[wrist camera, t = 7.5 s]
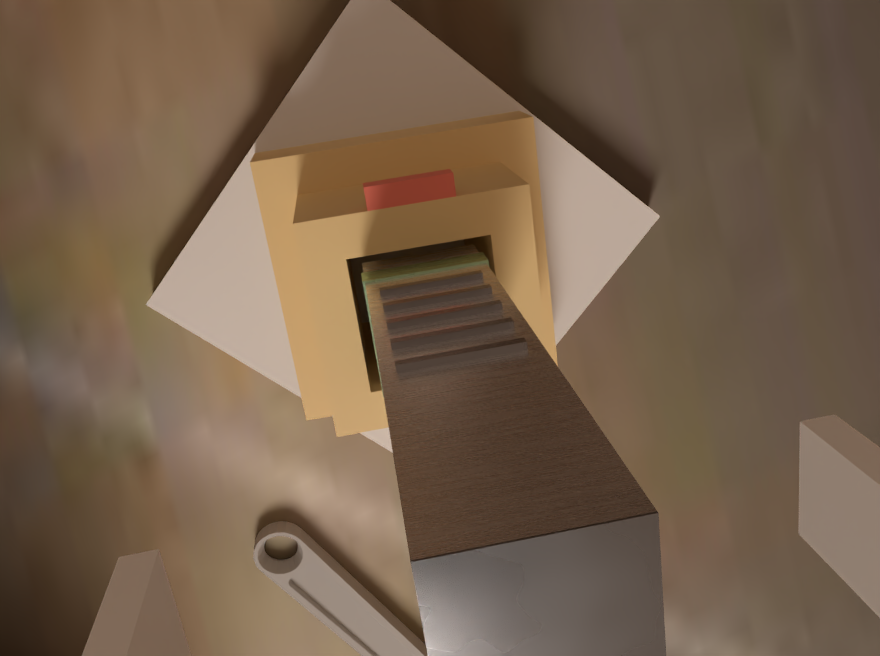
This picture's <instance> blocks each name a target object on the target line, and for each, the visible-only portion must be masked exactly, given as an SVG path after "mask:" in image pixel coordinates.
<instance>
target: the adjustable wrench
mask: <svg viewBox="0 0 880 656" xmlns="http://www.w3.org/2000/svg"><path fill="white" fill-rule="evenodd" d="M275 536H286V537H290V538H292V539H294V540H295V541H297V544H298V550H297V552H296V554H295V555H294V556H292V557H290V558H288V559H275V558H272V557H270V556H268V555H267V554H266V552H265V550H264V545H265V542H266V540H268V539H269V538H272V537H275ZM254 561H255V564H256V566H257V567H258V568H259V569H260V571H261V572H263V573H264V574H265V575H266V576H267V577H269V578H270V579H271V580H272V581H273V582H275V583H276V584H277V585H278V586H279V587H281V588H282V589H283V590H284V591H285V592H286V593H288V594H289V595H290V596H291V597H292V598H294V599H295V600H296V601H297V602H298V603H300V604H301V605H302V606H303V607H304V608H306V609H307V610H308V611H309V612H310V613H312V614H313V615H314V616H315V617H316V618H317V619H319V620H320V621H321V622H322V623H323V624H325V625H326V626H327V627H328V628H329V629H331V630H332V631H333V632H334V633H335V634H337V635H338V636H339V637H340V638H341V639H343V640H344V641H345V642H346V643H347V644H348V645H350V646H351V647H352V648H353V649H354V650H356V651H357V652H358V653H359V654H360V655H362V656H428V654H427V648H426V644H425V643H423V642H422V641H421V640H420V639H419V638H418V637H417V636H416V635H415V634H414V633H413V632H412V631H411V630H410V629H408V628H407V627H406V626H405V625H404V624H403V623H402V622H401V621H400V620H399V619H398V618H397V617H396V616H395V615H393V614H392V613H391V612H390V611H389V610H388V609H387V608H386V607H385V606H384V605H383V604H382V603H381V602H380V601H379V600H377V599H376V598H375V597H374V596H373V595H372V594H371V593H370V592H369V591H368V590H367V589H366V588H365V587H364V586H362V585H361V584H360V583H359V582H358V581H357V580H356V579H355V578H354V577H353V576H352V575H351V574H350V573H349V572H347V571H346V570H345V569H344V568H343V567H342V566H341V565H340V564H339V563H338V562H337V561H336V560H335V559H334V558H332V557H331V556H330V555H329V554H328V553H327V552H326V551H325V550H324V549H323V548H322V547H321V546H320V545H319V544H317V543H316V542H315V541H314V540H313V539H312V538H311V537H310V536H309V535H308V534H307V533H306V532H305V531H304V530H303V529H301V528H300V527H299V526H297V525H296V524H294V523H290V522H287V521H277V522H274V523H270V524H268V525H267V526H265V527H263V528H262V529H261V531H260V532H259V533H258V535H257V537H256V540H255V546H254Z"/></svg>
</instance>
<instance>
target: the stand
mask: <svg viewBox="0 0 880 656" xmlns="http://www.w3.org/2000/svg"><path fill="white" fill-rule="evenodd" d="M659 217H660V216H659V215H658V214H657V213H655V212H654V211H653V210H652V209H650V208H649V207H648V206H647V205H645V204H644V203H643V202H642V201H640V200H639V199H638V198H637V197H635V196H634V195H633V194H632V193H630V192H629V191H628V190H627V189H625V188H624V187H623V186H622V185H620V184H619V183H618V182H617V181H615V180H614V179H613V178H612V177H610V176H609V175H608V174H607V173H605V172H604V171H603V170H602V169H600V168H599V167H598V166H597V165H595V164H594V163H593V162H592V161H590V160H589V159H588V158H587V157H585V156H584V155H583V154H582V153H580V152H579V151H578V150H577V149H575V148H574V147H573V146H572V145H570V144H569V143H568V142H567V141H565V140H564V139H563V138H562V137H560V136H559V135H558V134H557V133H555V132H554V131H553V130H552V129H550V128H549V127H548V126H547V125H545V124H544V123H543V122H542V121H540V120H539V119H538V118H537V117H535V116H534V115H533V114H532V113H530V112H529V111H528V110H527V109H525V108H524V107H523V106H522V105H520V104H519V103H518V102H517V101H515V100H514V99H513V98H512V97H510V96H509V95H508V94H507V93H505V92H504V91H503V90H502V89H500V88H499V87H498V86H497V85H495V84H494V83H493V82H492V81H490V80H489V79H488V78H487V77H485V76H484V75H483V74H482V73H480V72H479V71H478V70H477V69H475V68H474V67H473V66H472V65H470V64H469V63H468V62H467V61H465V60H464V59H463V58H462V57H460V56H459V55H458V54H457V53H455V52H454V51H453V50H452V49H450V48H449V47H448V46H447V45H445V44H444V43H443V42H442V41H440V40H439V39H438V38H437V37H435V36H434V35H433V34H432V33H430V32H429V31H428V30H427V29H425V28H424V27H423V26H422V25H420V24H419V23H418V22H417V21H415V20H414V19H413V18H412V17H410V16H409V15H408V14H407V13H405V12H404V11H403V10H402V9H400V8H399V7H398V6H397V5H395V4H394V3H393V2H392V1H390V0H350V1H349V3H348V4H347V6H346V7H345V9H344V10H343V12H342V13H341V14H340V16H339V17H338V19H337V20H336V22H335V23H334V25H333V26H332V28H331V29H330V31H329V32H328V34H327V35H326V37H325V38H324V40H323V41H322V43H321V44H320V46H319V47H318V49H317V50H316V52H315V53H314V55H313V56H312V58H311V59H310V61H309V62H308V64H307V65H306V67H305V68H304V70H303V71H302V73H301V74H300V76H299V77H298V78H297V80H296V81H295V83H294V84H293V86H292V87H291V89H290V90H289V92H288V93H287V95H286V96H285V98H284V99H283V101H282V102H281V104H280V105H279V107H278V108H277V110H276V111H275V113H274V114H273V116H272V117H271V119H270V120H269V122H268V123H267V125H266V126H265V128H264V129H263V131H262V132H261V134H260V135H259V137H258V138H257V139H256V141H255V142H254V144H253V145H252V147H251V148H250V150H249V151H248V153H247V154H246V156H245V157H244V159H243V160H242V162H241V163H240V165H239V166H238V168H237V169H236V171H235V172H234V174H233V175H232V177H231V178H230V180H229V181H228V183H227V184H226V186H225V187H224V189H223V190H222V192H221V193H220V195H219V196H218V198H217V199H216V201H215V202H214V203H213V205H212V206H211V208H210V209H209V211H208V212H207V214H206V215H205V217H204V218H203V220H202V221H201V223H200V224H199V226H198V227H197V229H196V230H195V232H194V233H193V235H192V236H191V238H190V239H189V241H188V242H187V244H186V245H185V247H184V248H183V250H182V251H181V253H180V254H179V256H178V257H177V259H176V260H175V262H174V263H173V265H172V266H171V267H170V269H169V270H168V272H167V273H166V275H165V276H164V278H163V279H162V281H161V282H160V284H159V285H158V287H157V288H156V290H155V291H154V293H153V294H152V296H151V297H150V299H149V301H148V302H147V304H146V305H147V306H149V307H150V308H152V309H154V310H156V311H157V312H159V313H161V314H162V315H164V316H166V317H167V318H169V319H171V320H172V321H174V322H176V323H177V324H179V325H181V326H182V327H184V328H186V329H187V330H189V331H191V332H192V333H194V334H196V335H197V336H199V337H201V338H202V339H204V340H206V341H207V342H209V343H211V344H212V345H214V346H216V347H217V348H219V349H221V350H222V351H224V352H226V353H227V354H229V355H231V356H232V357H234V358H236V359H237V360H239V361H241V362H242V363H244V364H246V365H247V366H249V367H251V368H252V369H254V370H256V371H257V372H259V373H261V374H262V375H264V376H266V377H267V378H269V379H271V380H272V381H274V382H276V383H277V384H279V385H281V386H282V387H284V388H286V389H287V390H289V391H291V392H292V393H294V394H296V395H297V396H299V397H301V398H302V402H303V407H304V411H305V416H306V420H312V419H318V418H323V417H329V416H332V417H333V420H334V425H335V430H336V435H337V437H340V436H345V435H351V434H356V433H361V434H362V435H364V436H366V437H367V438H369V439H371V440H372V441H374V442H376V443H377V444H379V445H381V446H382V447H384V448H386V449H387V450H389V451H391V452H392V453H393V451H392V444H391V438H390V432H389V426H388V420H387V414H386V408H385V402H384V397H383V393H382V387H381V382H380V376H379V371H378V365H377V360H376V354H375V349H374V343H373V338H372V332H371V327H370V321H369V316H368V310H367V305H366V299H365V294H364V288H363V283H362V276H361V273H363V267H362V263H365V262H371V261H377V260H383V259H389V258H394V257H400V256H406V255H412V254H418V253H424V252H429V251H435V250H441V249H447V248H453V247H458V246H464V245H470V244H474V246H475V247H476V248H477V250H478V251H479V253H481V252H483V253H484V254H485V256H486V257H487V259H488V261H489V267H490V269H491V270H492V272H493V273H494V275H495V276H496V278H497V279H498V280H499V282H500V283H501V285H502V286H503V288H504V289H505V291H506V292H507V294H508V295H509V296H510V298H511V299H512V301H513V302H514V304H515V305H516V307H517V308H518V310H519V311H520V312H521V314H522V315H523V317H524V318H525V320H526V321H527V323H528V324H529V326H530V327H531V328H532V330H533V331H534V333H535V334H536V336H537V337H538V339H539V340H540V342H541V343H542V344H543V346H544V347H545V349H546V350H547V352H548V353H549V355H550V356H551V358H552V359H553V360H554V362H555V363H556V365H557V366H558V364H557V354H556V345H557V344H558V342H559V341H560V340H561V339H562V337H563V336H564V335H565V334H566V332H567V331H568V330H569V329H570V327H571V326H572V325H573V324H574V322H575V321H576V320H577V319H578V318H579V316H580V315H581V314H582V313H583V311H584V310H585V309H586V308H587V306H588V305H589V304H590V303H591V301H592V300H593V299H594V298H595V296H596V295H597V294H598V293H599V291H600V290H601V289H602V288H603V287H604V285H605V284H606V283H607V282H608V280H609V279H610V278H611V277H612V275H613V274H614V273H615V272H616V270H617V269H618V268H619V267H620V265H621V264H622V263H623V262H624V260H625V259H626V258H627V257H628V255H629V254H630V253H631V252H632V251H633V249H634V248H635V247H636V246H637V244H638V243H639V242H640V241H641V239H642V238H643V237H644V236H645V234H646V233H647V232H648V231H649V229H650V228H651V227H652V226H653V224H654V223H655V222H656V221H657V220H658V218H659Z"/></svg>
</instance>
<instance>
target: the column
mask: <svg viewBox="0 0 880 656" xmlns="http://www.w3.org/2000/svg"><path fill="white" fill-rule="evenodd" d="M362 267H363V273H361V276H362V283H363V288H364V294H365V299H366V305H367V310H368V316H369V321H370V327H371V332H372V338H373V343H374V349H375V354H376V360H377V365H378V371H379V376H380V382H381V387H382V393H383V397H384V402H385V408H386V414H387V420H388V426H389V432H390V438H391V444H392V451H393V457H394V463H395V469H396V475H397V481H398V487H399V493H400V500H401V506H402V512H403V518H404V524H405V530H406V536H407V542H408V548H409V555H410V561H411V566H412V572H413V577H414V583H415V588H416V594H417V599H418V605H419V610H420V616H421V621H422V626H423V632H424V637H425V643H426V648H427V654H428V656H666V645H665V626H664V608H663V590H662V572H661V553H660V535H659V517H658V512H657V510H656V509H655V507H654V506H653V505H652V503H651V502H650V500H649V499H648V497H647V496H646V494H645V493H644V491H643V490H642V489H641V487H640V486H639V484H638V483H637V481H636V480H635V478H634V477H633V475H632V474H631V473H630V471H629V470H628V468H627V467H626V465H625V464H624V462H623V461H622V459H621V458H620V457H619V455H618V454H617V452H616V451H615V449H614V448H613V446H612V445H611V443H610V442H609V441H608V439H607V438H606V436H605V435H604V433H603V432H602V430H601V429H600V427H599V426H598V425H597V423H596V422H595V420H594V419H593V417H592V416H591V414H590V413H589V411H588V410H587V409H586V407H585V406H584V404H583V403H582V401H581V400H580V398H579V397H578V395H577V394H576V393H575V391H574V390H573V388H572V387H571V385H570V384H569V382H568V381H567V379H566V378H565V376H564V375H563V374H562V372H561V371H560V369H559V368H558V366H557V365H556V363H555V362H554V360H553V359H552V358H551V356H550V355H549V353H548V352H547V350H546V349H545V347H544V346H543V344H542V343H541V342H540V340H539V339H538V337H537V336H536V334H535V333H534V331H533V330H532V328H531V327H530V326H529V324H528V323H527V321H526V320H525V318H524V317H523V315H522V314H521V312H520V311H519V310H518V308H517V307H516V305H515V304H514V302H513V301H512V299H511V298H510V296H509V295H508V294H507V292H506V291H505V289H504V288H503V286H502V285H501V283H500V282H499V280H498V279H497V278H496V276H495V275H494V273H493V272H492V270H491V269H490V267H489V261H488V259H487V257H486V256H485V254H484V253H483V252H481V253H479V251H478V250H477V248H476V247H475V246H474V244H470V245H464V246H458V247H453V248H447V249H441V250H435V251H429V252H424V253H418V254H412V255H406V256H400V257H394V258H389V259H383V260H377V261H371V262H365V263H362Z"/></svg>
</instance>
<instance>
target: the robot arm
mask: <svg viewBox="0 0 880 656" xmlns="http://www.w3.org/2000/svg"><path fill="white" fill-rule="evenodd" d="M799 535H800V536H801V537H802V538H803V539H804V540H805V541H806V542H807V543H808V544H809V545H810V546H811V547H812V548H813V549H814V550H815V551H816V552H817V553H818V554H819V555H820V556H821V557H822V558H823V560H824V561H825V562H826V563H827V564H828V565H829V566H830V567H831V568H832V569H833V570H834V571H835V572H836V573H837V574H838V575H839V576H840V577H841V578H842V579H843V580H844V581H845V582H846V583H847V584H848V585H849V586H850V587H851V588H852V590H853V591H854V592H855V593H856V594H857V595H858V596H859V597H860V598H861V599H862V600H863V601H864V602H865V603H866V604H867V605H868V606H869V607H870V608H871V609H872V610H873V611H874V612H875V613H876V614H877V615H878V616H879V617H880V447H879V446H877V445H876V444H874V443H873V442H872V441H870V440H869V439H868V438H866V437H865V436H864V435H862V434H861V433H859V432H858V431H857V430H855V429H854V428H853V427H851V426H850V425H849V424H847V423H846V422H844V421H843V420H842V419H840V418H839V417H838V416H836V415H835V414H834V415H829V416H824V417H819V418H814V419H809V420H804V421H800V455H799ZM82 656H191V652H190V649H189V646H188V643H187V639H186V636H185V633H184V630H183V626H182V623H181V620H180V616H179V613H178V610H177V607H176V603H175V600H174V597H173V594H172V590H171V587H170V584H169V581H168V577H167V574H166V571H165V568H164V564H163V561H162V558H161V554H160V551H159V549H156V550H151V551H146V552H141V553H136V554H131V555H126V556H121V557H119V558H118V560H117V563H116V566H115V568H114V571H113V574H112V576H111V579H110V582H109V584H108V587H107V590H106V592H105V595H104V598H103V600H102V603H101V606H100V608H99V611H98V614H97V616H96V619H95V622H94V624H93V627H92V630H91V632H90V635H89V638H88V640H87V643H86V646H85V648H84V651H83V654H82Z"/></svg>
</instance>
